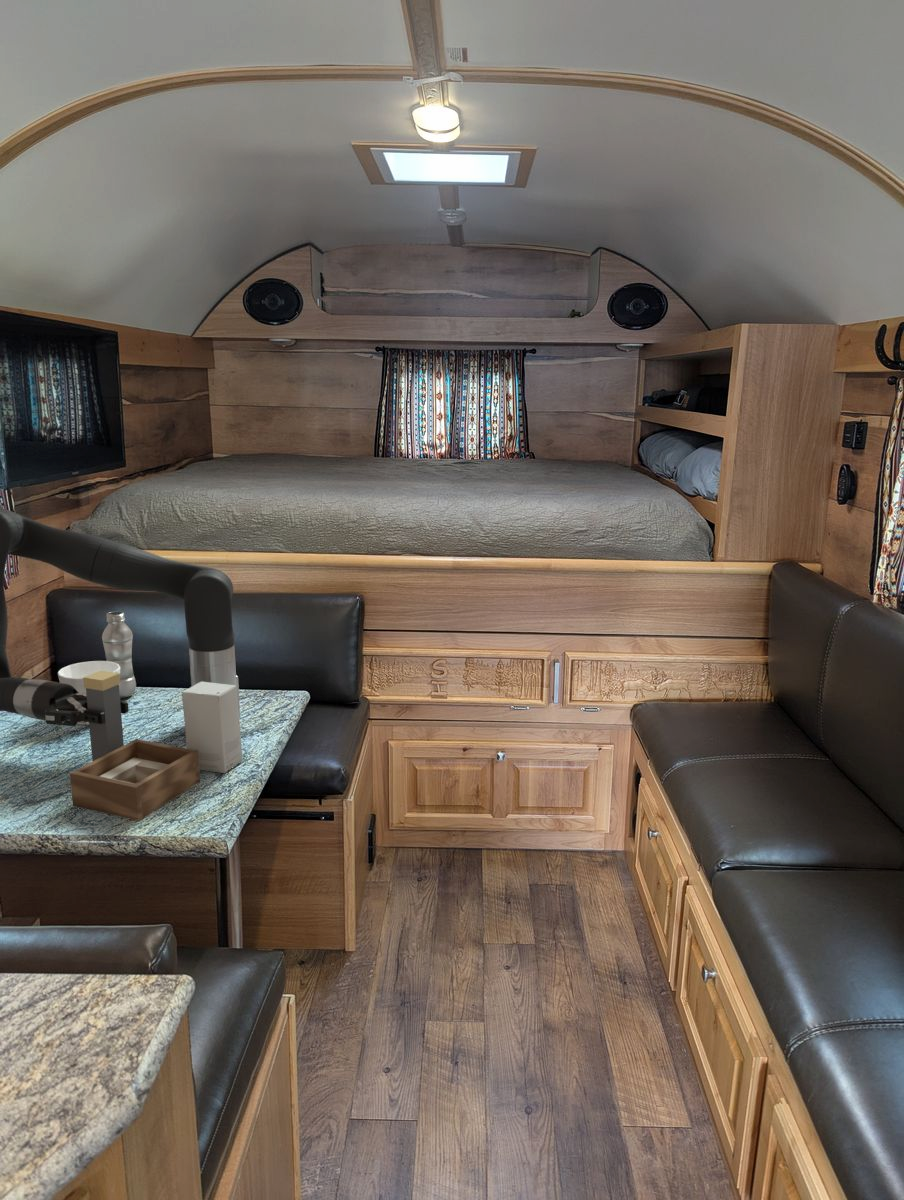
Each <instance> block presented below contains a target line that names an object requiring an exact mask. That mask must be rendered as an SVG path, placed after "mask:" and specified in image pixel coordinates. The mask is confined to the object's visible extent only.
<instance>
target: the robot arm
mask: <svg viewBox="0 0 904 1200" xmlns="http://www.w3.org/2000/svg"><path fill="white" fill-rule="evenodd" d="M8 556H16V557H22V558H27V559H30V560H36V561H39V562H43V563H45V564H49V565H50V566H53V567H55V568H57V569H59V570H61V571H63V572H65V573H68V574H69V575H72V576H74V577H76V578H79V579H80V580H84V581H87V582H91V583H92V584H93V583H94V584H98V585H100V586H101V585H102V586H104V587H109V588H113V589H117V590H125V591H137V592H140V591H141V592H156V593H162V594H166V595H169V596H172V597H175V598H178V599H182V600H183V602H184V603H183V604H184V618H185V628H186V629H185V631H186V637H187V638H188V639H187V640H188V649H189V651H188V652H189V653H188V654H189V669H190V685H191V686H190V687H192V686H194V685H196V684H197V683H199V682H210V683H218V684H228V685H237V697H238V710H239V718H240V717H241V709H240V708H241V706H240V688H239V687H240V685H239V676H238V675H237V672H236V670H237V668H236V654H235V653H236V652H235V651H236V649H235V633H234V628H233V616H232V615H233V614H232V598H233V594H234V585H233V581H232V580H231V578H230V577H229V576H228V575H227V574H226V573H225V572H224V571H222V570H220V569H217V568H215V567H214V568H213V567H209V566H203V565H197V564H192V563H185V562H182V561H177V560H173V559H170V558H166V557H163V556H160V555H157V554H155V553H151V552H149V551H147V550H143V549H140V548H136V547H135V546H130V545H128V544H124V543H122V542H118V541H115V540H111V539H108V538H104V537H100V536H96V535H92V534H88V533H84V532H83V533H82V532H77V531H72V530H67V529H61V528H56V527H53V526H50V525H47V524H44V523H42V522H38V521H36V520H34V519H31V518H28V517H26V516H24V515H21V514H19V513H17V512H15V511H11V510H8V509H6V508H2V507H0V712H6V713H10V714H15V715H20V716H21V715H22V716H24V717H28V718H30V719H35V720H39V721H45V724H46V725H54V726H55V725H56V726H68V727H75V726H77V725H78V724H77V722H80V723H86V722H91V723H96V724H103V723H105V713H104V712H101V711H95V710H90V709H88V707H87V696H86V693H78V692H77V691H76V689H75V688H74V687H73V686H71V685H69V684H64V683H60V682H57V681H51V680H47V679H32V678H28V677H27V678H26V677H19V676H12V673H11V668H10V664H9V659H8V655H7V651H6V650H7V649H6V648H7V638H8V622H9V620H8V607H7V602H6V595H5V570H6V564H7V560H8ZM120 705H121V714H124V715H125V714H127V713H129V712H130V711H129V710H130V709H129V703H128V701H126V700H120Z"/></svg>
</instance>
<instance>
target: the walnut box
mask: <svg viewBox="0 0 904 1200" xmlns="http://www.w3.org/2000/svg"><path fill="white" fill-rule="evenodd" d="M69 782H70V791H71V802H72V806H73V807H76V808H81V809H85V810H88V811H94V812H97V813H101V814H102V813H103V814H106V815H109V816H110V815H111V816H115V817H119V818H124V819H128V820H133V821H136V822H140V821H141V820H143V819H144V818H146V817H147V816H149V815H150V814H152V813H154V812H156V811H157V810H158V809H160V808H162V807H163V806H165V805H166V804H168V803H169V802H171V801H173V800H174V799H175V798H177V797H179V796H180V795H182V794H183V793H186V792H187V791H188V790H190V789H191V788H193V787H194V786H196V785H197V784H199V783H200V782H201V773H200V770H199V753H198V751H195V750H190V749H187V748H185V747H179V746H174V745H169V744H162V743H159V742H154V741H147V740H141V739H133V740H132V741H130V742H128V743H125V744H124V746H122V747H120V748H118V749H116V750H114V751H112V752H110V753H108V754H106V755H104V756H102V757H100V758H98V759H96V760H94V761H93V762H92V761H91V762H89V763H87V764H85V765H83V766H81V767H78V768H77V769H75V770H73V771H71V772H69Z"/></svg>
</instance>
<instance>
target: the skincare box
mask: <svg viewBox="0 0 904 1200" xmlns="http://www.w3.org/2000/svg"><path fill="white" fill-rule="evenodd" d="M181 699H182V709H183V717H184V718H183V719H184V729H185V731H184V732H185V738H186V739H185V740H186V749H190V750H195V751H198V753H199V769H200V770H201V771H206V770H207V772H212V771H213V773H220V774H226V773H227V772H229V771H230V770H232V769H233V768H235V767H236V766H237V765H239V764H240V763H241V762H242V761H243V749H242V739H241V737H242V736H241V723H240V717H239V710H238V697H237V685H228V684H218V683H210V682H199V683H197V684H196V685H194V686H192V687H191V686H190V687H189V688H187V689H184V690H183V691H181ZM240 761H241V762H240ZM239 762H240V763H239ZM238 763H239V764H238ZM236 764H237V765H236ZM235 765H236V766H235ZM234 766H235V767H234ZM232 767H233V768H232ZM231 768H232V769H231ZM228 770H229V771H228Z"/></svg>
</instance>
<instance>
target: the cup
mask: <svg viewBox="0 0 904 1200" xmlns="http://www.w3.org/2000/svg"><path fill="white" fill-rule="evenodd" d="M120 668H121V667H120V666H119V665H118V664H117V663H114V662H108V661H106V660H92V661H82V662H77V663H72V664H69V665H67V666H64V667H62V668H60V669H59V670H58V672H57V677H58V680H59V683H64V684H69V685H71V686H73V687H74V688H75V689H76V691H77V692H78V693H86V688H84V681H83V677H85V676H88V675H90V674H93V673H96V672H98V671H108V672H114V673H120ZM81 724H84V725H83V726H89V722H86V723H80V722H77V725H81ZM85 724H86V725H85Z"/></svg>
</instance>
